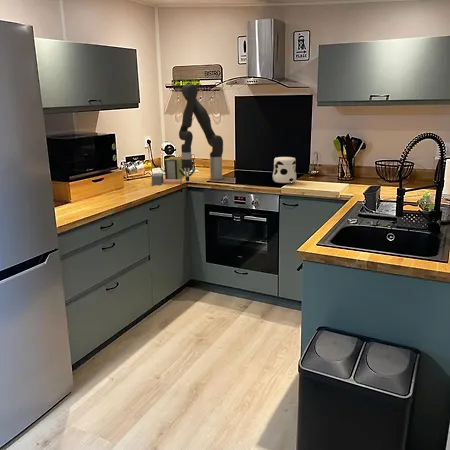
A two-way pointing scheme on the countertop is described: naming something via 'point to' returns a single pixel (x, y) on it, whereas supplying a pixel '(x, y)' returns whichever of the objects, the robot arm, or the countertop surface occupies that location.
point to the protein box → (173, 168)
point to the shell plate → (172, 181)
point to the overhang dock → (157, 179)
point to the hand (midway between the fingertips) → (187, 181)
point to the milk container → (284, 170)
